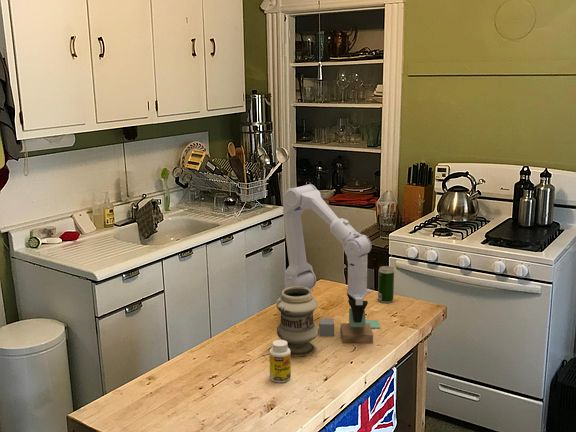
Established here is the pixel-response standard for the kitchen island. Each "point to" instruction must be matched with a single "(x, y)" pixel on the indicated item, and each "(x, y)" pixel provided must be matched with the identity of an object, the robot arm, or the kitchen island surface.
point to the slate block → (326, 327)
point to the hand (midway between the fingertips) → (356, 318)
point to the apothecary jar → (297, 319)
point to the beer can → (386, 284)
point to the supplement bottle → (280, 361)
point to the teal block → (353, 320)
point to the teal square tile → (373, 324)
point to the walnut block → (356, 334)
